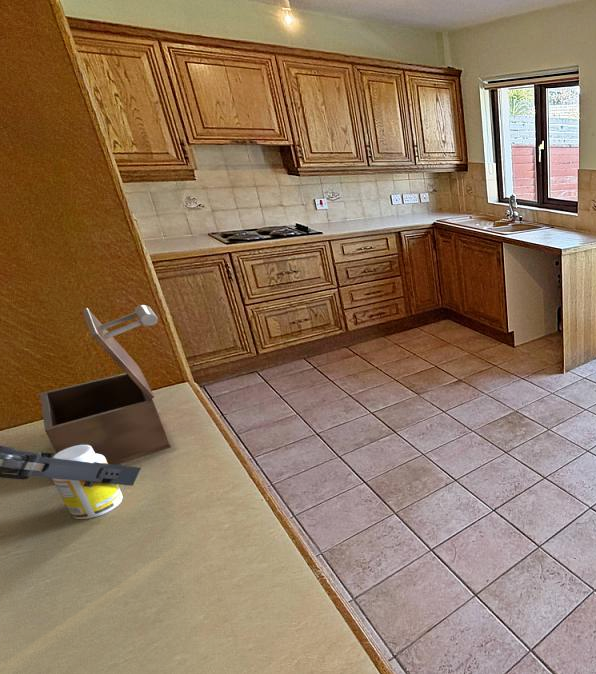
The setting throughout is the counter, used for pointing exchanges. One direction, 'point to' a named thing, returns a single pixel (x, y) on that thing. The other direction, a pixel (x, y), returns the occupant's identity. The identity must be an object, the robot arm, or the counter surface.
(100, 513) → the supplement bottle
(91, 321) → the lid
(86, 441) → the chest
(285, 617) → the counter surface
